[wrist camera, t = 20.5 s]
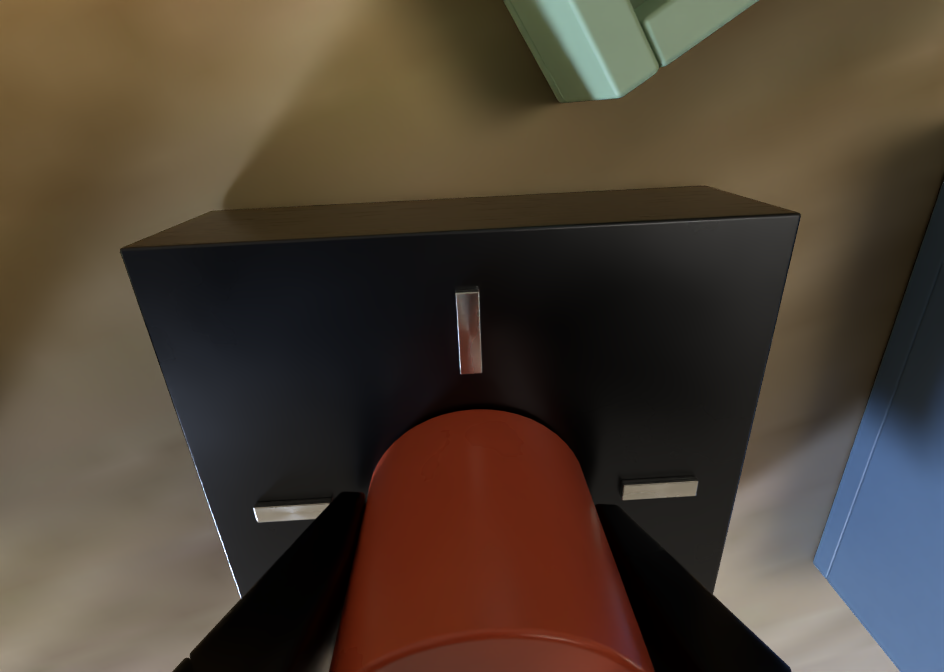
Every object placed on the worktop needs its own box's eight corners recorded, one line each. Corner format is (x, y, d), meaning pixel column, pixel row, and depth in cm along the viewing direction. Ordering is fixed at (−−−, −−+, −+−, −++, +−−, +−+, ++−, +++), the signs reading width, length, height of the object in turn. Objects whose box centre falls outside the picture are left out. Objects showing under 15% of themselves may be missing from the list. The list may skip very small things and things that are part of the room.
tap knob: (383, 579, 10) (338, 881, 6) (355, 413, 8) (268, 681, 4) (578, 567, 10) (660, 858, 6) (589, 400, 8) (710, 652, 4)
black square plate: (303, 567, 14) (265, 685, 11) (210, 210, 10) (110, 251, 7) (653, 546, 14) (704, 656, 11) (707, 185, 10) (810, 214, 7)
